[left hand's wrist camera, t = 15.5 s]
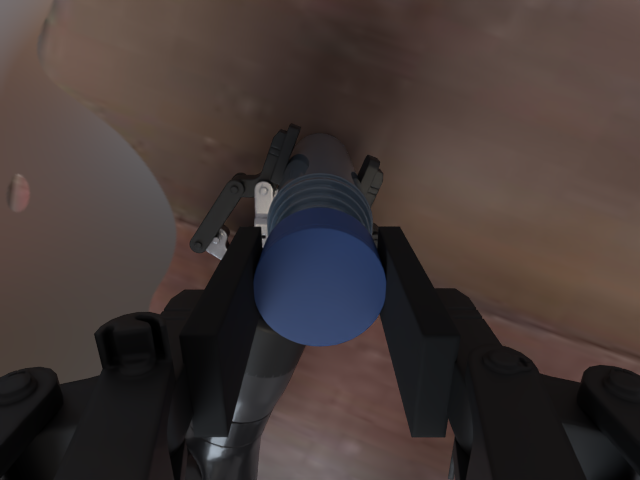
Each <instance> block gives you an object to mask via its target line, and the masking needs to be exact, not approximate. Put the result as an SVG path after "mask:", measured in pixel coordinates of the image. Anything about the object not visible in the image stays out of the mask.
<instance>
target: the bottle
mask: <svg viewBox="0 0 640 480" xmlns="http://www.w3.org/2000/svg"><path fill="white" fill-rule="evenodd" d="M309 208H331V209H336V210H339V211H342V212H344V213H347V214H349V215H351V216H352V217H354V218H355V219H357V220H358V221H359V222H360V223H361V224H363V225H364V227H365V228H366V229H367V230H368V231H369V233H370V234H371V236H372V232H373V217H372V212H371V208H370V205H369V203H368V201H367V198H366V196H365V193H364V191H363V188H362V186H361V183H360V181H359V179H358V176H357V174H356V171H355V169H354V166H353V164H352V162H351V159H350V157H349V154H348V152H347V150H346V148H345V146H344V145H343V144H342V142H341V141H339V140H338V139H337V138H335V137H334V136H332V135H329V134H325V133H315V134H311V135H308V136H306V137H304V138H303V139H302V140H300V141H299V142H298V144H297V145H296V146H295V148H294V149H293V152H292V154H291V156H290V159H289V162H288V164H287V167H286V169H285V171H284V173H283V176H282V178H281V181H280V183H279V186H278V188H277V190H276V193H275V195H274V198H273V200H272V203H271V205H270V208H269V211H268V216H267V233H268V236H269V234H270V233H271V231H272V230H273V229H274V227H275V226H276V225H277V224H278V223H279V222H281V221H282V220H283V219H285V218H286V217H288V216H289V215H291V214H293V213H295V212H298V211H301V210H304V209H309Z"/></svg>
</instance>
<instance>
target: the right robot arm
mask: <svg viewBox="0 0 640 480" xmlns="http://www.w3.org/2000/svg"><path fill="white" fill-rule="evenodd" d="M300 129H301V127H300V126H297V125H295V124H292V123H291V124H290V126H289V128H288V131H285V130H283V129H281V130H280V131H279V132H278V133H277V134H276V135H275V136H274V138H273V140H272V143H271V146H270V149H269V152H268V155H267V158H266V161H265V164H264V167H263V170H262V172H261V173H260V174H257V175H246V174H245V173H237V174H236V175H235V176H234V177H233V178H232V180H230V181H229V182H228V183H227V184H226V186H225V187H224V189H223V191H222V192H221V194H220V195H219V197H218V198H217V200H216V202H215V203H214V205H213V206H212V208H211V209H210V211H209V212H208V214H207V216H206V217H205V219H204V220H203V222H202V223H201V225H200V227H199V228H198V230H197V231H196V233H195V234H194V236H193V238H192V239H191V241H190V247H191V249H192V250H193V251H194V252H196V253H203V252H205V251H207V252H209V253H210V254H212V255H213V256H215V257H217V258H218V259H220V260H222V258H223V256H224V254H225V252H226V251H227V249H228V247H229V245H230V244H229V242H228V237H229V235H230V231H229V228H228V227H227V226H225V225H224V223H225V221H226V220H227V218H228V217H229V215H230V214H231V212H232V211H233V209H234V208H235V206H236V204H237V203H238V201H239V200H240V198H241V197H255V220H254V227H261V230H262V247H264V244H265V242H266V240H267V237H268V233H267V216H268V211H269V208H270V205H271V203H272V200H273V198H274V195H275V193H276V190H277V184H279V183H280V181H281V178H282V176H283V173H284V171H285V169H286V167H287V164H288V162H289V159H290V156H291V154H292V151H293V148H294V145H295V143H296V140H297V137H298V134H299V132H300ZM379 165H380V161H379V160H378V159H377V158H375V157H373V156H370V155H367V156H366V158H365V160H364V162H363V164H362V167H361V169H360V171H359V174H358V179H359V181H360V183H361V186H362V188H363V191H364V193H365V196H366V198H367V201H368V203H369V205H370V208H371V206H372V204H373V202H374V199H375V197H376V195H377V193H378V191H379V189H380V186H381V184H382V182H383V172H382V171H381V170H380V169H379ZM372 238H373V240H374V242H375V245H376V248H377V243H378V226H377V225H376V224H374V223H373V232H372ZM305 346H306V345H303V344H300V343H296V342H294V341H291V340H289V339H287V338H285V337H283V336H281V335H280V334H279V333H277V332H276V331H274V330H273V329H272V328H271V327H270V326H269V325H268V324H267V323H266V321H265V320H264V319H263V317H262V316H261V314H260V316H259V320H258V324H257V328H256V332H255V335H254V339H253V343H252V347H251V351H250V355H249V358H248V362H247V366H246V370H245V374H244V378H243V382H242V385H241V389H240V393H239V397H238V401H237V405H236V409H235V412H234V416H233V420H232V424H231V428H230V432H229V435H228V437H194V431H193V424H192V420H191V423H190V425H189V428H188V430H187V433H186V436H185V439H186V445H187V452H188V456H187V465H186V474H185V480H257V473H258V460H259V450H260V440H261V435H262V432H263V430H264V428H265V425H266V423H267V421H268V419H269V417H270V414H271V412H272V410H273V408H274V406H275V404H276V403H277V401H278V400H279V398H280V397H281V395H282V394H283V392H284V390H285V389H286V387H287V385H288V383H289V381H290V378H291V376H292V374H293V372H294V370H295V367H296V365H297V363H298V361H299V359H300V357H301V354H302V352H303V350H304V348H305Z"/></svg>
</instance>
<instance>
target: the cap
mask: <svg viewBox="0 0 640 480" xmlns="http://www.w3.org/2000/svg"><path fill="white" fill-rule="evenodd" d="M253 284H254V299H255V303H256V306H257V308H258V310H259V313H260V314H261V316H262V317H263V319H264V320H265V321H266V323H267V324H268V325H269V326H270V327H271V328H272V329H273V330H274V331H276V332H277V333H279V334H280V335H281V336H283V337H285V338H287V339H289V340H291V341H294V342H296V343H300V344H303V345H309V346H330V345H336V344H340V343H343V342H346V341H349V340H351V339H353V338H355V337H357V336H358V335H360V334H361V333H363V332H364V331H365V330H366V329H368V328H369V327H370V326H371V325H372V323H373V322H374V321H375V320H376V319H377V317H378V315H379V314H380V312H381V310H382V308H383V306H384V302H385V295H386V274H385V271H384V268H383V265H382V262H381V259H380V256H379V253H378V251H377V248H376V245H375V242H374V240H373V238H372V236H371V234H370V233H369V231H368V230H367V229H366V228H365V227H364V225H363V224H361V223H360V222H359V221H358V220H357V219H355V218H354V217H352V216H351V215H349V214H347V213H344V212H342V211H339V210H336V209H331V208H309V209H304V210H301V211H298V212H295V213H293V214H291V215H289V216H288V217H286V218H285V219H283V220H282V221H281V222H279V223H278V224H277V225H276V226H275V227H274V229H273V230H272V231H271V233H270V234H269V236H268V237H267V240H266V242H265V244H264V247H263V250H262V253H261V256H260V258H259V261H258V264H257V267H256V270H255V274H254V279H253Z"/></svg>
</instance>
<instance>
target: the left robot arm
mask: <svg viewBox="0 0 640 480" xmlns="http://www.w3.org/2000/svg"><path fill="white" fill-rule="evenodd" d="M262 250H263V247H262V230H261V227H239V229H238V231H237V233H236V235H235V236H234V238H233V240H232V242H231V244H230V245H229V247H228V249H227V251H226V252H225V254H224V256H223V258H222V260H221V261H220V263H219V265H218V267H217V268H216V270H215V272H214V274H213V276H212V277H211V279H210V281H209V283H208V285H207V286H206V288H205V290H184V291H182V292H181V293H179V294H178V295H176V296H175V297H173V298H172V299H171V300H170V301H169V303H168V304H167V306H166V307H165V309H164V311H162V313H161V314H156V313H152V312H136V313H131V314H126V315H123V316H120V317H117V318H115V319H112V320H110V321H109V322H107V323H105V324H104V325H102V326H101V327H100V328H99V329H98V330H97V331H96V332H95V334H94V335H95V340H96V344H97V348H98V352H99V355H100V360H101V364H102V368H103V369H102V372H101V374H100V375H99V376H95V377H92V378H88V379H83V380H78V381H73V382H69V383H64V384H59V381H58V377H57V374H56V373H55V372H54V371H53V370H51V369H49V368H44V367H33V368H25V369H21V370H18V371H14V372H11V373H8V374H7V375H5V376H2V377H0V480H185V474H186V465H187V456H188V452H187V445H186V439H185V436H186V433H187V430H188V428H189V425H190V423H191V420H192V424H193V431H194V437H228V435H229V432H230V428H231V424H232V420H233V416H234V412H235V409H236V405H237V401H238V397H239V393H240V389H241V385H242V382H243V378H244V374H245V370H246V366H247V362H248V358H249V355H250V351H251V347H252V343H253V339H254V335H255V332H256V328H257V324H258V320H259V316H260V313H259V310H258V308H257V306H256V303H255V299H254V284H253V279H254V274H255V270H256V267H257V264H258V261H259V258H260V256H261V253H262ZM377 251H378V253H379V256H380V259H381V262H382V265H383V268H384V271H385V274H386V295H385V302H384V306H383V308H382V310H381V312H380V317H381V321H382V325H383V329H384V333H385V336H386V340H387V344H388V348H389V352H390V356H391V360H392V363H393V367H394V371H395V375H396V379H397V383H398V386H399V390H400V394H401V398H402V402H403V406H404V410H405V413H406V417H407V421H408V425H409V429H410V433H411V437H445V435H446V429H447V422H448V419H449V421H450V424H451V427H452V429H453V432H454V434H455V439H454V445H453V451H452V457H451V463H450V469H449V476H448V479H451V480H453V479H454V474H455V480H640V375H638V374H636V373H634V372H632V371H629V370H626V369H622V368H619V367H615V366H605V365H598V366H592V367H589V368H588V369H587V370H585V371H584V373H583V376H582V379H581V383H580V382H575V381H570V380H565V379H560V378H556V377H551V376H547V375H544V374H540V373H539V371H538V369H537V367H536V366H535V364H534V363H533V362H532V360H530V359H529V358H528V357H526V356H525V355H524V354H522V353H521V352H518V351H516V350H514V349H511V348H509V347H505V346H502V345H501V343H500V342H499V340H498V339H497V337H496V336H495V335H494V333H493V332H492V330H491V329H490V327H489V326H488V324H487V323H486V322H485V320H484V319H482V316H481V314H480V313H479V312H478V310H476V307H475V306H474V304H473V303H472V302H471V300H470V299H469V297H467V296H466V295H464V294H463V293H461V292H460V291H458V290H457V289H455V288H434V287H433V285H432V283H431V281H430V280H429V278H428V276H427V274H426V273H425V271H424V269H423V267H422V265H421V264H420V262H419V260H418V258H417V257H416V255H415V253H414V251H413V249H412V248H411V246H410V244H409V242H408V240H407V239H406V237H405V235H404V233H403V232H402V230H401V228H400V227H378V243H377Z"/></svg>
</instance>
